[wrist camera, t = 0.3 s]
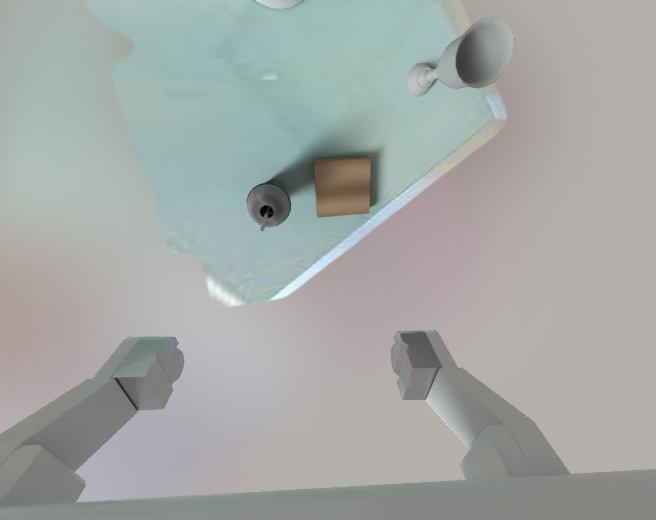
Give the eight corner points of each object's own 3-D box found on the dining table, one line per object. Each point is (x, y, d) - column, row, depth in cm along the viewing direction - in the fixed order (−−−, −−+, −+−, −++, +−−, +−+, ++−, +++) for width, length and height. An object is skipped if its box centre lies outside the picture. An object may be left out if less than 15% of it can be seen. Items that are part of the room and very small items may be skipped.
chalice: (398, 102, 47) (450, 89, 32) (402, 57, 44) (461, 16, 28) (435, 101, 48) (504, 87, 32) (441, 56, 45) (521, 16, 29)
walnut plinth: (313, 159, 50) (314, 161, 48) (367, 156, 51) (371, 157, 48) (316, 213, 55) (317, 217, 53) (365, 209, 56) (369, 213, 54)
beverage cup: (295, 176, 51) (294, 201, 34) (288, 210, 55) (285, 249, 37) (258, 168, 50) (238, 189, 32) (254, 203, 53) (233, 240, 35)
